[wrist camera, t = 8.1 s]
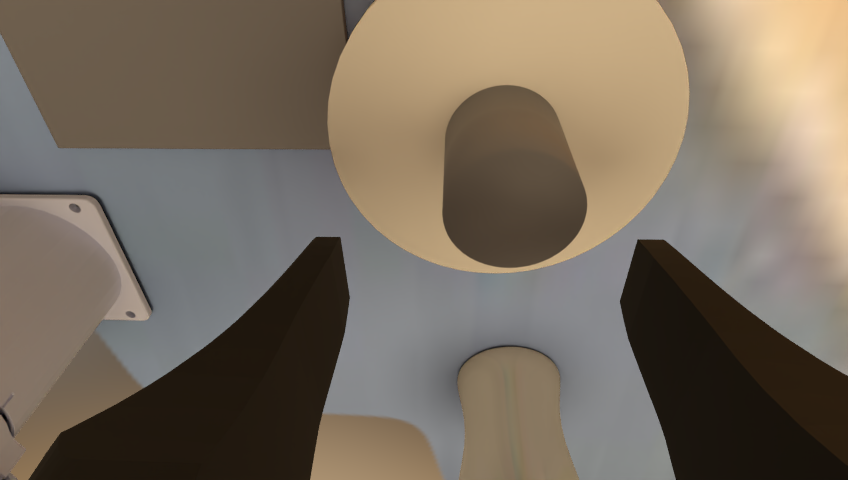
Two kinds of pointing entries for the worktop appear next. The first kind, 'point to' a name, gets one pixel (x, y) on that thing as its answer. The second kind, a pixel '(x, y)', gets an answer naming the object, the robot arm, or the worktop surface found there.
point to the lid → (506, 124)
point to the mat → (179, 70)
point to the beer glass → (512, 417)
